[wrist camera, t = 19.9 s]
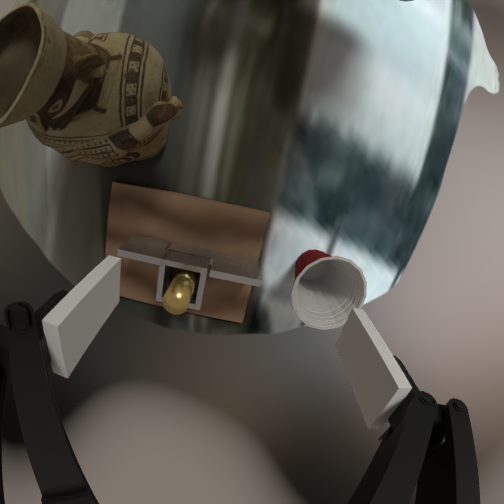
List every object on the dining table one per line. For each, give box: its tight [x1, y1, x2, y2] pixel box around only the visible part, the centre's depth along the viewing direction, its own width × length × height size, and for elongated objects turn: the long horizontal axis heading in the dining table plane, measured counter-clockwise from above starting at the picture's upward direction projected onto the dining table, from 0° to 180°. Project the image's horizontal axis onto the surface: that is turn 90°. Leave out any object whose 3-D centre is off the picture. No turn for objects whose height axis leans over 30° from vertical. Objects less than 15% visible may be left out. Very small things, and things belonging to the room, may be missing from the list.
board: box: [105, 181, 270, 323], centre depth 47 cm, size 20×26×1 cm
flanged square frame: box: [117, 234, 210, 310], centre depth 43 cm, size 7×13×8 cm, turn 77°
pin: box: [162, 268, 200, 315], centre depth 40 cm, size 3×3×14 cm
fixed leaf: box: [167, 242, 262, 296], centre depth 44 cm, size 7×14×8 cm, turn 77°
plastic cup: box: [291, 250, 367, 330], centre depth 44 cm, size 11×11×12 cm
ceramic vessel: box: [0, 2, 183, 167], centre depth 26 cm, size 19×21×30 cm
